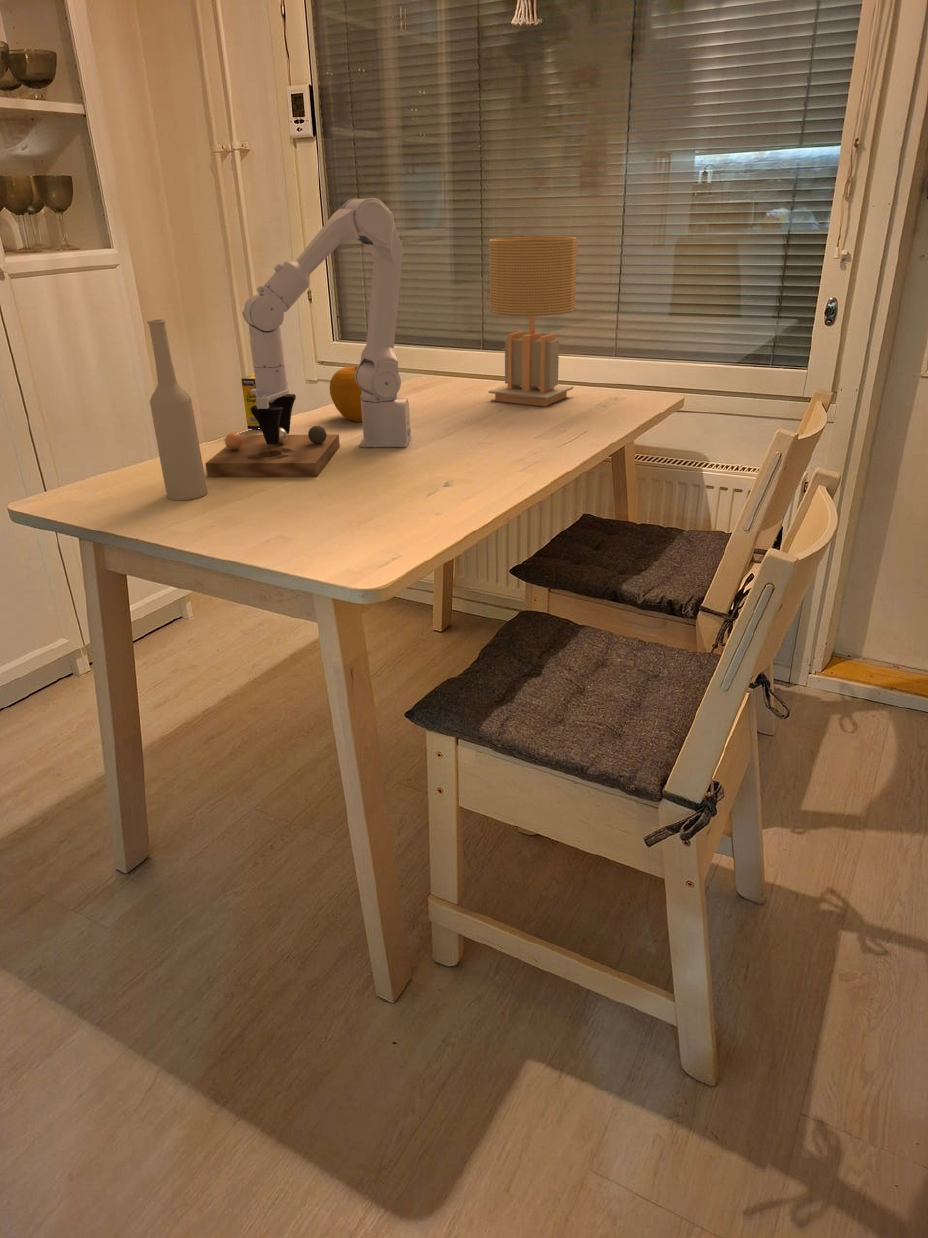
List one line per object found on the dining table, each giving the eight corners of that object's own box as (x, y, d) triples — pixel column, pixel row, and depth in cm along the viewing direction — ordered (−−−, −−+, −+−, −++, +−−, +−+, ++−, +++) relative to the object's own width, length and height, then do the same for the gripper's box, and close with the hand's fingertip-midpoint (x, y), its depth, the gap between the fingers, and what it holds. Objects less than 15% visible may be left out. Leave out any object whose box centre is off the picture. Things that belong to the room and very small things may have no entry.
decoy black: (328, 441, 162) (327, 423, 160) (325, 445, 159) (323, 428, 157) (311, 441, 162) (309, 423, 160) (307, 446, 159) (305, 428, 157)
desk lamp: (585, 394, 205) (591, 236, 190) (548, 411, 191) (552, 241, 175) (515, 387, 215) (516, 236, 199) (475, 402, 200) (472, 240, 184)
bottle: (185, 503, 138) (153, 324, 125) (158, 497, 141) (124, 321, 129) (215, 491, 143) (187, 318, 130) (189, 486, 146) (159, 316, 134)
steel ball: (290, 441, 162) (288, 425, 161) (285, 445, 159) (283, 429, 158) (273, 441, 162) (271, 425, 161) (269, 446, 159) (267, 429, 158)
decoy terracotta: (245, 447, 159) (243, 430, 158) (240, 451, 156) (238, 434, 155) (229, 447, 159) (226, 430, 158) (223, 451, 156) (221, 434, 155)
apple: (321, 423, 186) (316, 370, 180) (350, 410, 196) (346, 359, 191) (373, 427, 181) (369, 372, 176) (399, 413, 192) (396, 362, 187)
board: (339, 446, 167) (338, 434, 166) (317, 476, 150) (315, 462, 148) (241, 447, 169) (240, 434, 168) (207, 476, 151) (205, 463, 150)
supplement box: (273, 430, 181) (266, 378, 176) (247, 429, 182) (239, 378, 177) (283, 423, 186) (277, 373, 181) (258, 423, 187) (251, 372, 182)
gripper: (259, 358, 160) (268, 429, 167) (235, 372, 148) (246, 448, 154) (295, 358, 160) (303, 429, 166) (274, 372, 147) (283, 448, 153)
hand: (278, 438), depth 160 cm, fingers open, 7 cm apart
